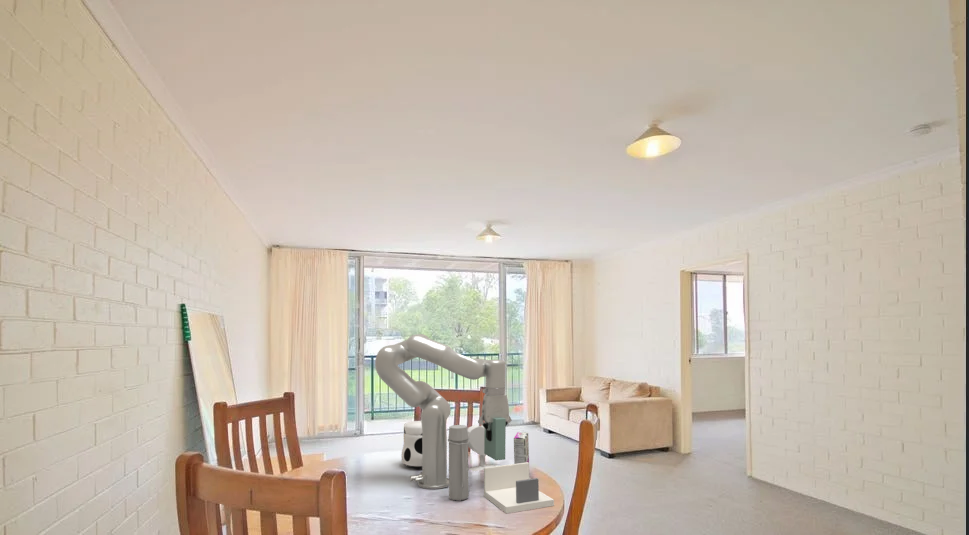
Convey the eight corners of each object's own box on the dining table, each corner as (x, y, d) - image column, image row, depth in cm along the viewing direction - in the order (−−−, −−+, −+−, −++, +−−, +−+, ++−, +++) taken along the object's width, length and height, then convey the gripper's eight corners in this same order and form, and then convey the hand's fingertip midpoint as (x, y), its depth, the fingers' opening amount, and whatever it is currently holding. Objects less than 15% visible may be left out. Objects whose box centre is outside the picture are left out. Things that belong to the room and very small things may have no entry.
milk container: (402, 461, 241) (402, 420, 243) (440, 459, 243) (440, 419, 245) (400, 471, 224) (400, 428, 226) (441, 470, 226) (441, 426, 228)
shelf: (506, 513, 174) (506, 482, 175) (483, 496, 191) (483, 467, 192) (554, 505, 181) (553, 475, 182) (528, 489, 198) (527, 462, 199)
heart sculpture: (493, 463, 235) (493, 422, 237) (500, 466, 231) (499, 424, 233) (464, 469, 226) (463, 426, 228) (470, 472, 222) (470, 428, 224)
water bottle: (444, 496, 191) (444, 425, 194) (465, 493, 194) (464, 423, 197) (453, 504, 183) (453, 430, 185) (474, 501, 186) (474, 428, 188)
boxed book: (495, 460, 198) (496, 419, 200) (484, 453, 208) (484, 414, 210) (505, 459, 200) (505, 418, 201) (493, 452, 210) (493, 414, 211)
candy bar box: (517, 472, 222) (517, 431, 224) (529, 472, 221) (528, 432, 223) (513, 479, 211) (513, 437, 213) (526, 480, 210) (525, 437, 212)
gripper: (479, 394, 200) (478, 443, 198) (518, 392, 206) (518, 440, 204) (471, 391, 207) (471, 439, 205) (510, 389, 213) (510, 436, 211)
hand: (494, 439), depth 205 cm, fingers closed on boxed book, 4 cm apart
